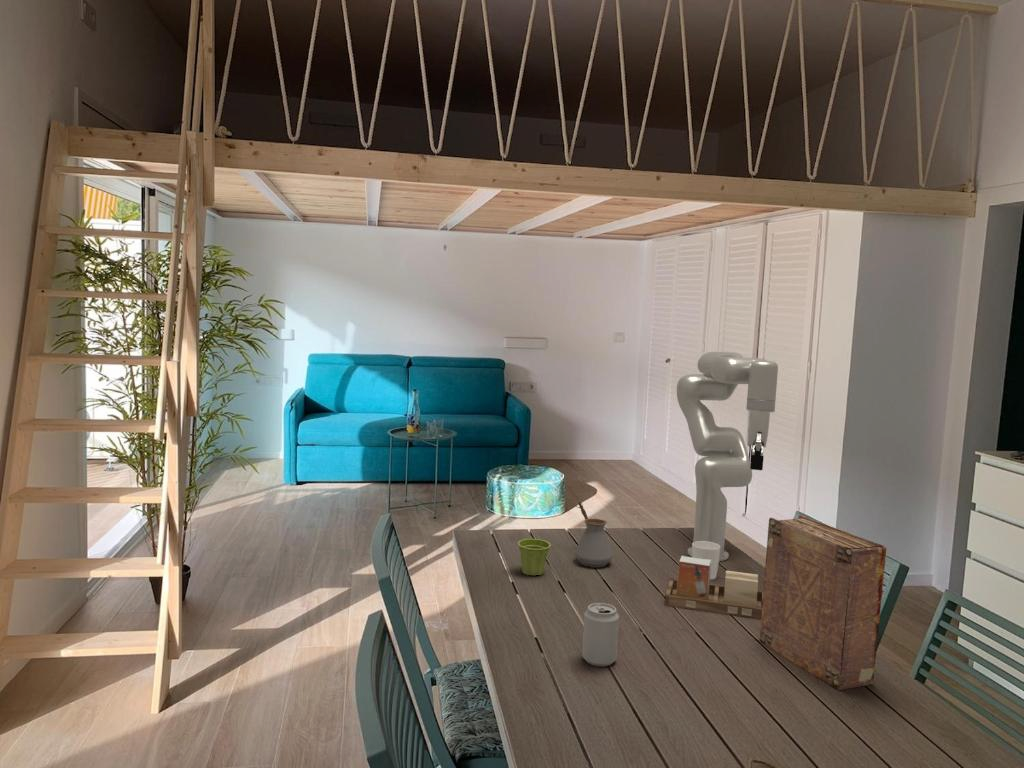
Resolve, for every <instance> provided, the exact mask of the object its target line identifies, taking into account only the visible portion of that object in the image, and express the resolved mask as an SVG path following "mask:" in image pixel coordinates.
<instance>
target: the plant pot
mask: <svg viewBox="0 0 1024 768" xmlns="http://www.w3.org/2000/svg"><path fill="white" fill-rule="evenodd" d="M517 545H518V547H519V551H520V562H521V572H522V573H524V574H523V575H525V574H527V575H526V576H528V575H533V576H536V575H540V576H542V575H544V571H545V567H546V561H547V556H548V553H549V550H550V548H551V545H552V544H551V543H550V542H549V541H547V540H543V539H539V538H524V539H521V540H519V541H518V542H517ZM541 574H542V575H541Z"/></svg>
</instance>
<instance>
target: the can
mask: <svg viewBox="0 0 1024 768" xmlns="http://www.w3.org/2000/svg"><path fill="white" fill-rule="evenodd" d="M619 626H620V614H618V612H617V608H616V607H615V606H614V605H612V604H609V603H604V602H594V603H590V604H589V605H588V606H587V610H585V611H584V617H583V630H582V631H583V634H582V651H581V652H582V653H581V654H582V658H583V660H585V662H587V663H588V664H590V665H591V666H595V667H608V666H610V665H612V664H613V663H614V662H616V661H617V658H618V657H617V656H618V643H619V642H618V641H619V629H620V628H619Z"/></svg>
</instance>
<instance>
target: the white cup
mask: <svg viewBox="0 0 1024 768" xmlns="http://www.w3.org/2000/svg"><path fill="white" fill-rule="evenodd" d="M691 544H692V545H691V547H692V558H699V559H709V560H711V572H710V581H711V580H714V579H717V576H718V575H717V574H718V568H719V562H720V561H719V555H720V545H718V544H716V543H713V542H708V541H696V542H692V543H691Z"/></svg>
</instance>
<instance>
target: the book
mask: <svg viewBox="0 0 1024 768" xmlns="http://www.w3.org/2000/svg"><path fill="white" fill-rule="evenodd" d="M765 553H766V557H765V565H764V568H765V569H764V580H763V582H764V583H763V590H762V591H763V604H762V617H761V619H760V633H759V643H761V644H762V645H764V646H765V647H767V648H768V649H770V650H772V651H773V652H775V653H777V654H778V655H780V656H782V657H784V658H785V659H787V660H788V661H790V662H791V663H793V664H795V665H796V666H798V667H800V668H802V669H803V670H805V671H806V672H808V673H809V674H811V675H813V676H814V677H816V678H818V679H820V680H821V681H823V682H825V683H826V684H828V685H829V686H830V687H833V688H834V689H836V690H837V691H843V690H848V689H854V688H860V687H865V686H870V685H873V684H874V679H875V678H874V676H875V669H876V666H875V665H876V658H877V657H876V656H877V648H878V639H879V630H880V629H879V626H880V618H881V617H880V616H881V605H882V599H883V598H882V597H883V587H884V578H885V569H886V568H885V567H886V565H885V564H886V556H887V547H886V546H885V545H882V544H880V543H877V542H874V541H871V540H868V539H866V538H863V537H860V536H858V535H856V534H852V533H850V532H847V531H844V530H842V529H840V528H836V527H834V526H831V525H828V524H826V523H823V522H820V521H817V520H815V519H813V518H810V517H807V516H804V515H799V516H798V518H793V519H791V518H790V519H776V518H774V517H769V519H768V527H767V541H766V551H765Z"/></svg>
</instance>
